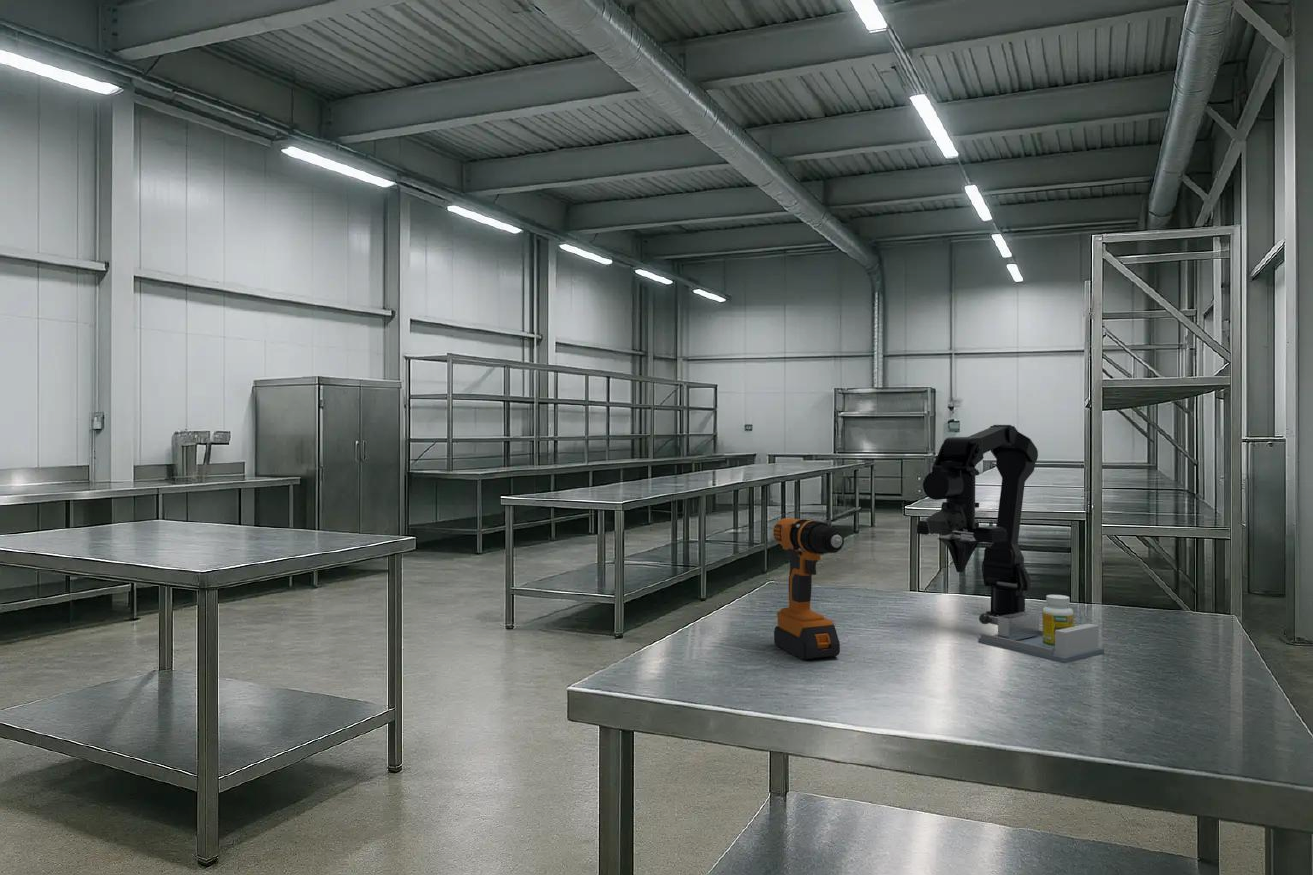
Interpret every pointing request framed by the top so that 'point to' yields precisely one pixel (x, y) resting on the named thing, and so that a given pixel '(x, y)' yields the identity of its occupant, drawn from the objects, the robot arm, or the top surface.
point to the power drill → (805, 589)
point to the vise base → (1067, 643)
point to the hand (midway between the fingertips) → (959, 572)
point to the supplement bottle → (1056, 618)
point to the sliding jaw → (1014, 624)
